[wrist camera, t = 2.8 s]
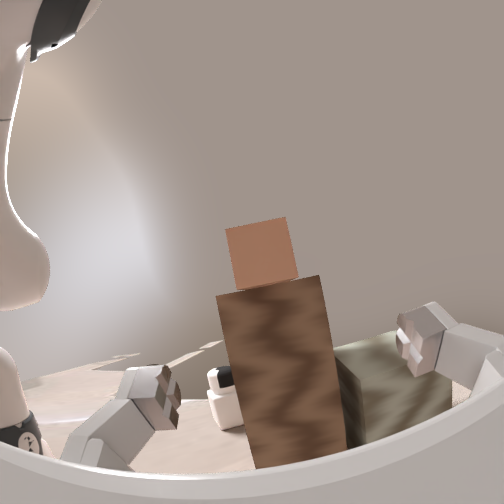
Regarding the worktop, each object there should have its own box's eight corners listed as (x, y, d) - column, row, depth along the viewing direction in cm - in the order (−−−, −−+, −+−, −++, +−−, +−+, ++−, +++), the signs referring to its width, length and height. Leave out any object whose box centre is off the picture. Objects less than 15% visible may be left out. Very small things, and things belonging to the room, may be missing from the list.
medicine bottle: (244, 411, 57) (233, 361, 59) (255, 421, 51) (243, 367, 52) (213, 419, 55) (201, 369, 57) (221, 431, 48) (207, 376, 50)
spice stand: (266, 509, 23) (213, 296, 27) (267, 445, 40) (234, 294, 43) (448, 453, 22) (435, 246, 26) (399, 410, 39) (379, 262, 43)
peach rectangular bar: (236, 289, 19) (225, 229, 19) (253, 290, 42) (248, 263, 43) (298, 277, 18) (285, 216, 19) (280, 284, 42) (275, 257, 43)
